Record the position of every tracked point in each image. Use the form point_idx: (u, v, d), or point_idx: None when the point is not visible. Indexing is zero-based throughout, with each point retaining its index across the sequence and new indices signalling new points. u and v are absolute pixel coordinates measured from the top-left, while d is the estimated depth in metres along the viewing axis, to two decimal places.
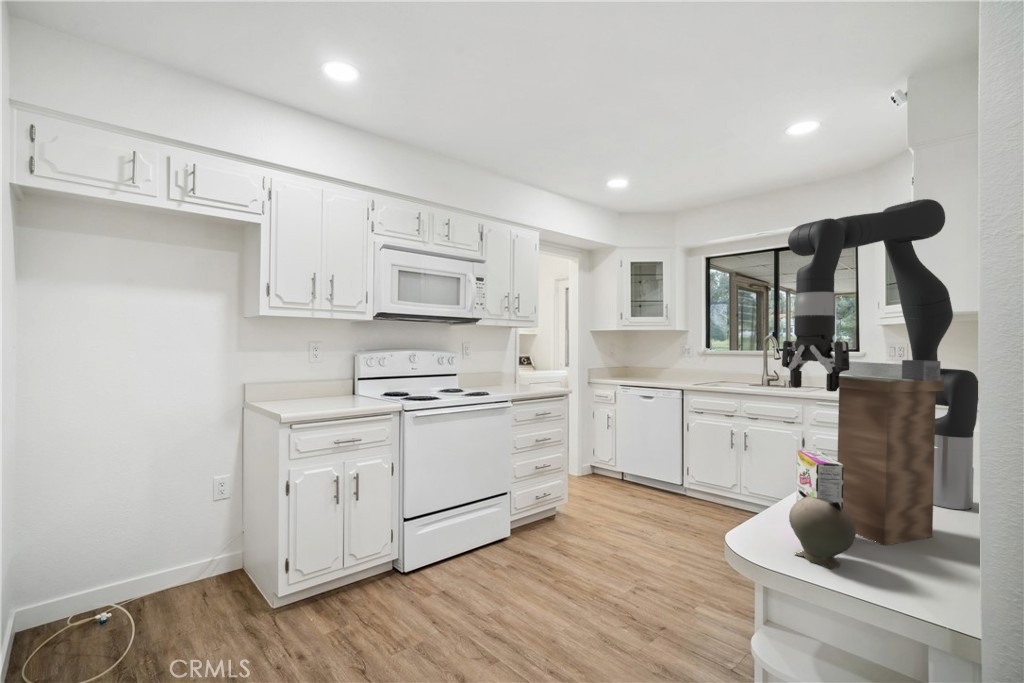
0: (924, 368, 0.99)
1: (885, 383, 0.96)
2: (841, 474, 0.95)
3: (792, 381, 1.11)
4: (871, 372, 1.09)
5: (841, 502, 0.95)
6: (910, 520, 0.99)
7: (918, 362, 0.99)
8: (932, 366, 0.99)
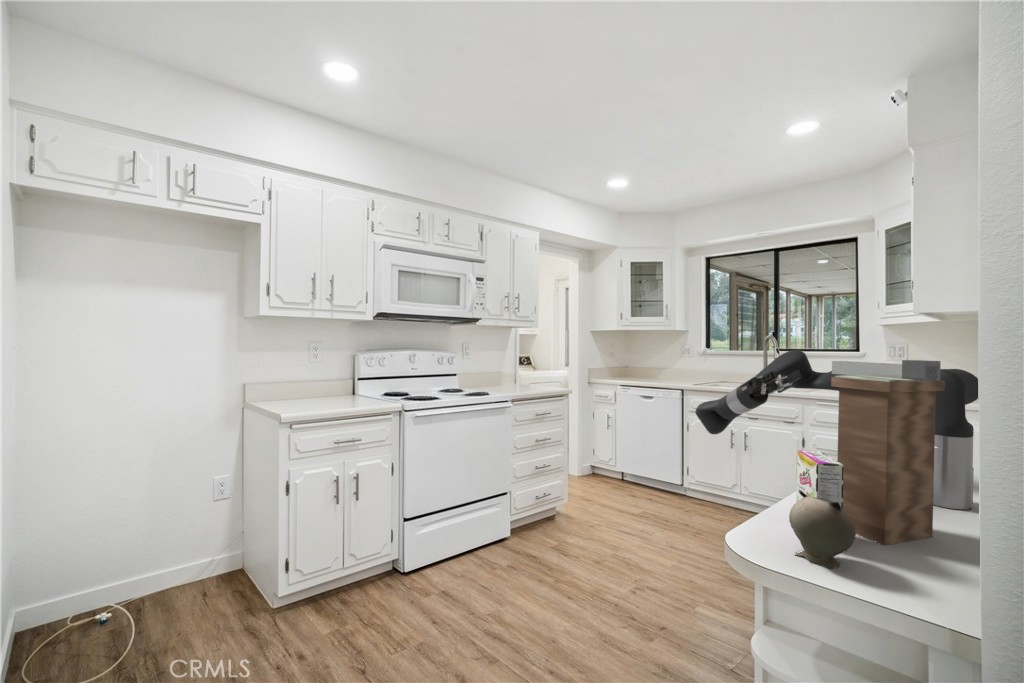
0: (924, 368, 0.99)
1: (885, 383, 0.96)
2: (841, 474, 0.95)
3: (797, 379, 1.35)
4: (871, 372, 1.09)
5: (841, 502, 0.95)
6: (910, 520, 0.99)
7: (918, 362, 0.99)
8: (932, 366, 0.99)
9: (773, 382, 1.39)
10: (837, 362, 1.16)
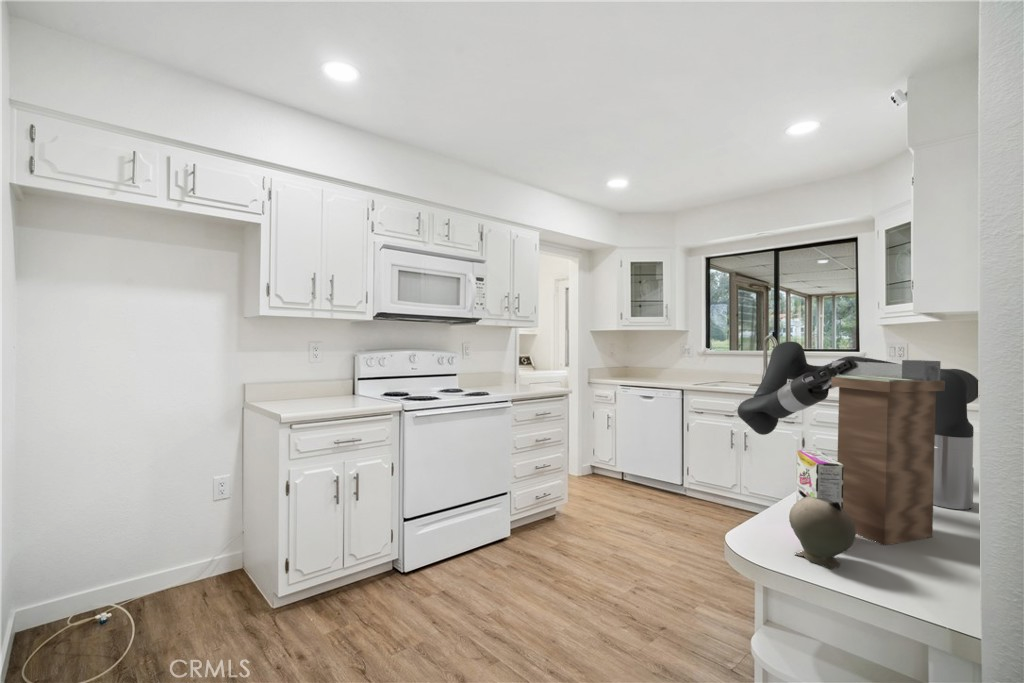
0: (924, 368, 0.99)
1: (885, 383, 0.96)
2: (841, 474, 0.95)
3: None
4: (871, 372, 1.09)
5: (841, 502, 0.95)
6: (910, 520, 0.99)
7: (918, 362, 0.99)
8: (932, 366, 0.99)
9: None
10: (837, 362, 1.16)
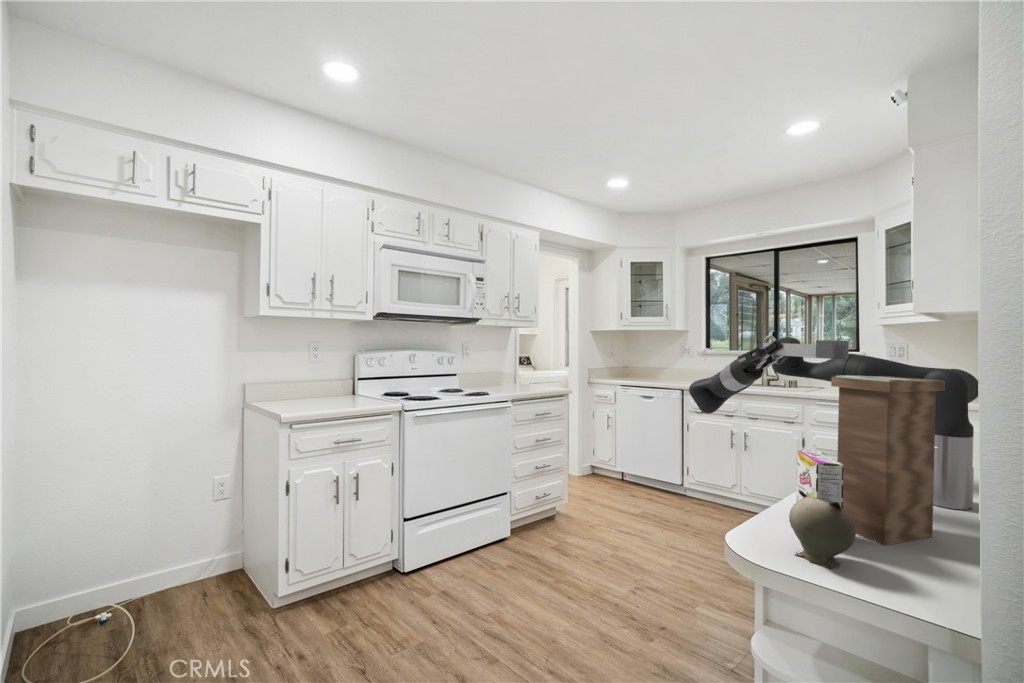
0: (832, 347, 1.10)
1: (885, 383, 0.96)
2: (841, 474, 0.95)
3: None
4: (793, 352, 1.21)
5: (841, 502, 0.95)
6: (910, 520, 0.99)
7: (828, 342, 1.11)
8: (840, 345, 1.11)
9: None
10: (767, 344, 1.28)
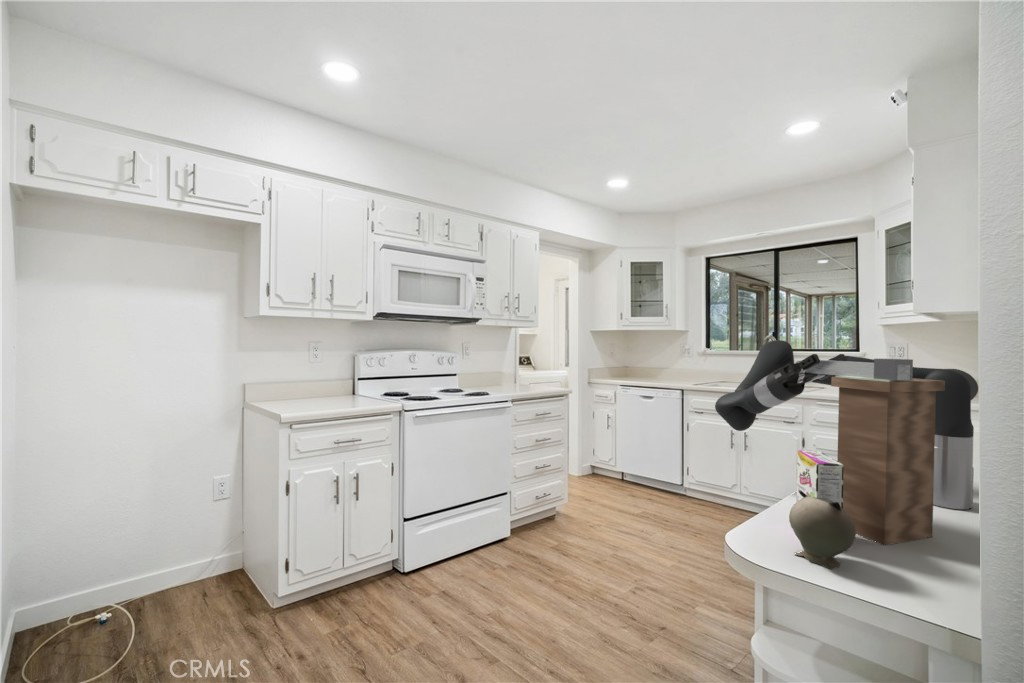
0: (895, 367, 0.96)
1: (885, 383, 0.96)
2: (841, 474, 0.95)
3: None
4: (844, 371, 1.06)
5: (841, 502, 0.95)
6: (910, 520, 0.99)
7: (890, 361, 0.97)
8: (904, 365, 0.97)
9: None
10: None
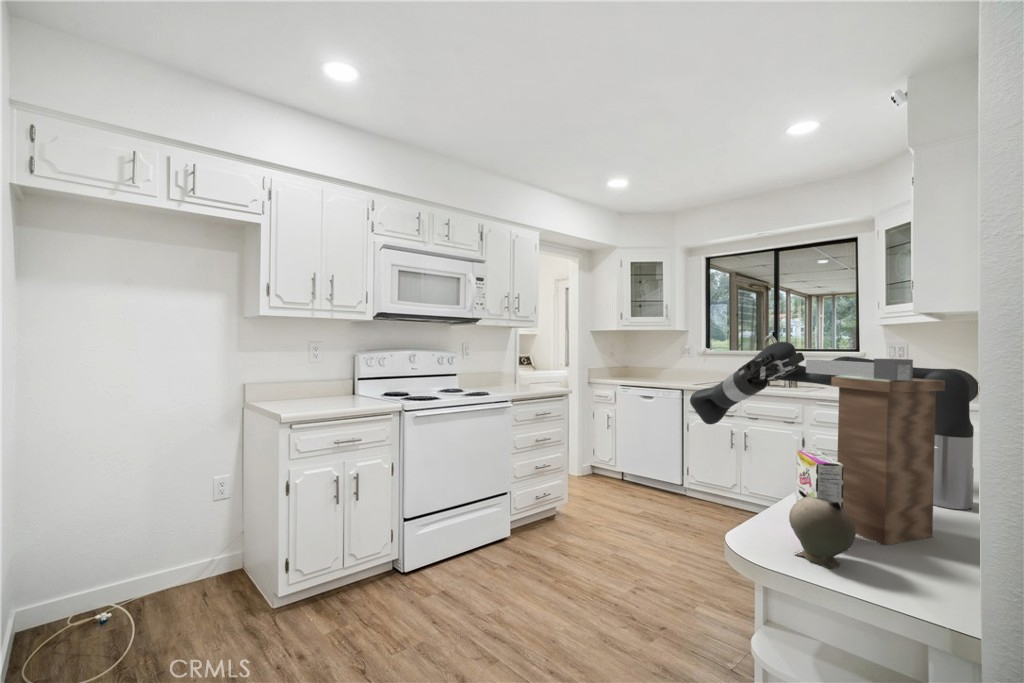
0: (895, 367, 0.96)
1: (885, 383, 0.96)
2: (841, 474, 0.95)
3: None
4: (844, 371, 1.06)
5: (841, 502, 0.95)
6: (910, 520, 0.99)
7: (890, 361, 0.97)
8: (904, 365, 0.97)
9: (773, 366, 1.27)
10: (811, 361, 1.14)
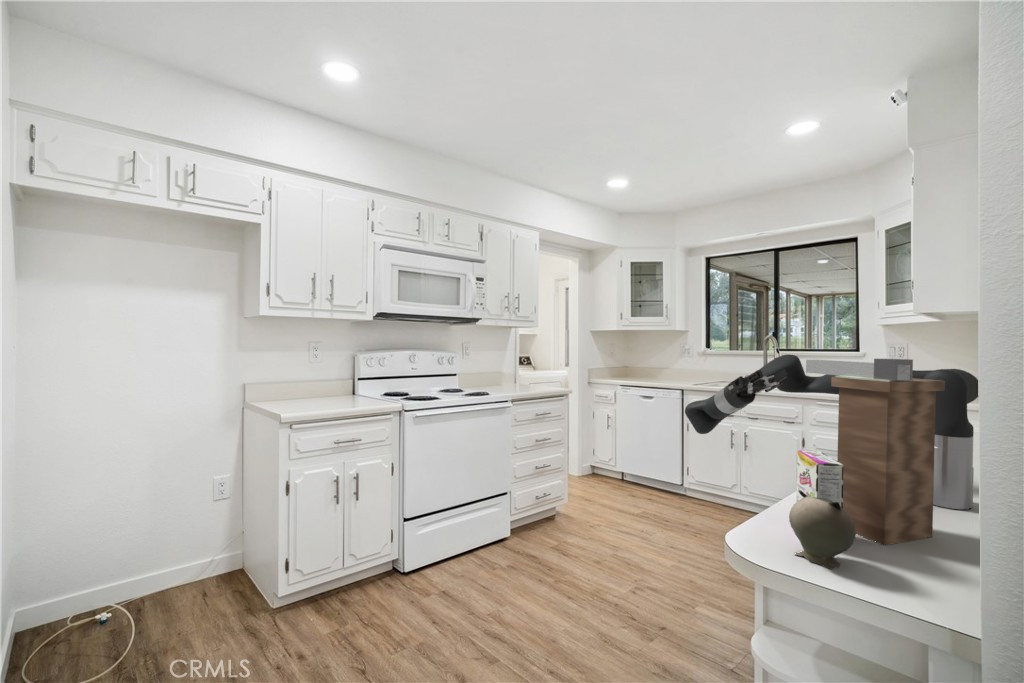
0: (895, 367, 0.96)
1: (885, 383, 0.96)
2: (841, 474, 0.95)
3: (784, 378, 1.35)
4: (844, 371, 1.06)
5: (841, 502, 0.95)
6: (910, 520, 0.99)
7: (890, 361, 0.97)
8: (904, 365, 0.97)
9: (760, 381, 1.39)
10: (811, 361, 1.14)
